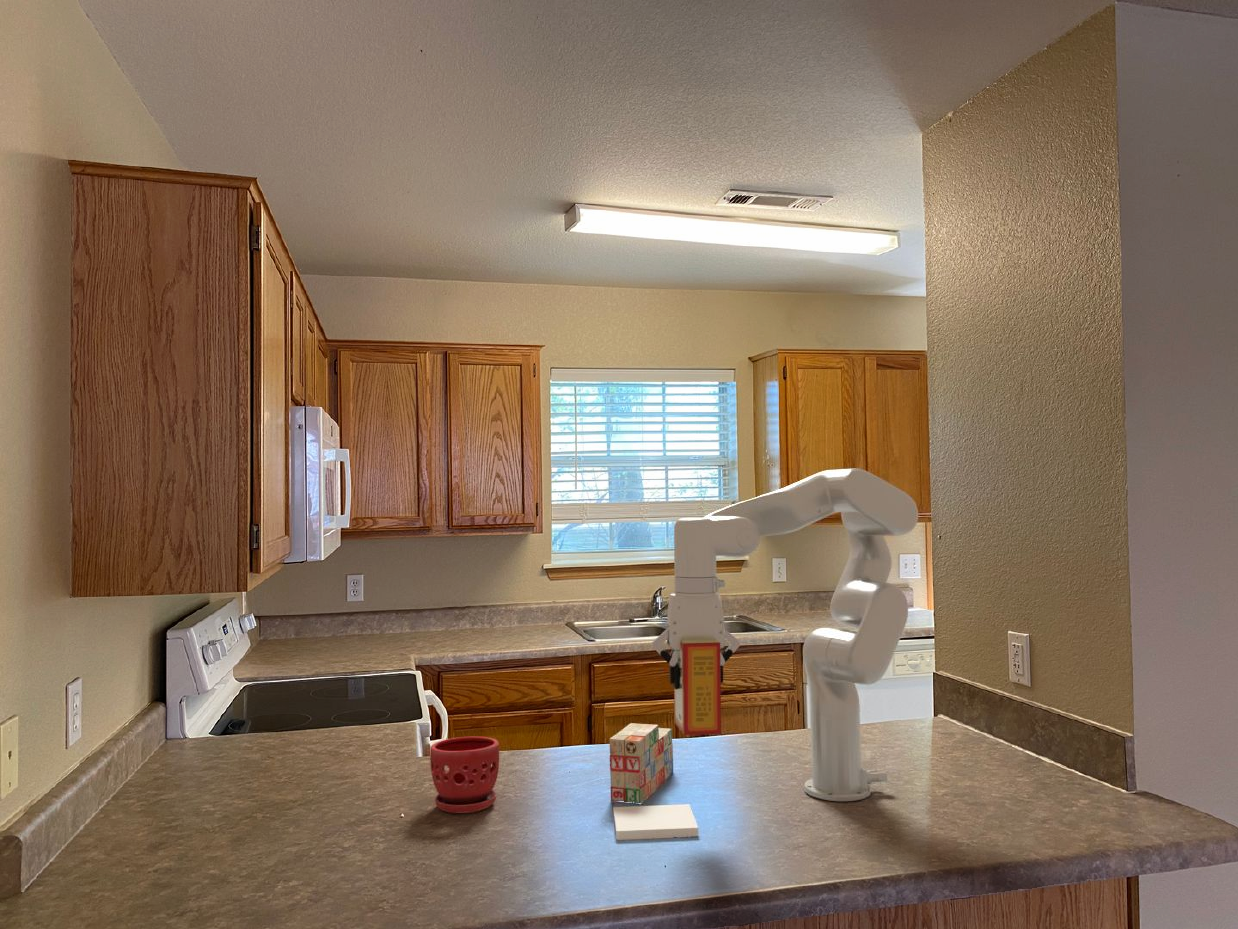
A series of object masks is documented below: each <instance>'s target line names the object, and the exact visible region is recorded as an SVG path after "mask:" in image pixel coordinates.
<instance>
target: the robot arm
mask: <svg viewBox="0 0 1238 929" xmlns="http://www.w3.org/2000/svg"><path fill="white" fill-rule="evenodd" d="M837 513H840V515H841V522H842V525H843V527H844V530H845V532H846V535H847V537H848V540H849V547H850V548H849V557H848V559H847V562H846V564H845V567H844V569H843V572H842V575H841V576H840V579H839V581H838V583H837V585H836V588H835V589H834V593H833V595H832V597H831V600H830V605H829V613H830V614H831V617H832V619H834V621H835V622H837V623H838V624H839V625H842V626H846V627H848V628H854V629H857V631H855V630H854V631H853V630H849V629H843V628H837V627H829V626H828V627H820V628H816V629H814V630H813V631H812V632H810V633H809V634H808V635H807V637H806V638H805V640H804V642H803V646H802V658H803V659H802V660H803V664H804V667H805V668H804V669H805V673H806V677H807V684H808V693H809V694H808V695H809V724H810V726H809V727H810V752H811V753H810V754H811V758H810V759H811V778H810V779H807V780H806V781H805V782H804V783H803V785H804V786H803V787H804V792H805V793H806V794H807V795H809V796H811V797H814V798H817V799H820V800H823V801H829V802H830V801H832V802H855V801H860V800H864V799H867V798H868V797H870V796H871V793H872V787H871V785H872V783H887V782H888V774H887V772H886V771H877V770H876V769H865V768H864V767H863V766H862V765H863V764H862V742H861V741H862V738H861V736H862V735H861V705H860V698H859V693H858V689H857V687H856V684H857V685H858V684H859V685H867V686H868V685H873V684H876V683H877V682H878V681H880V680H881V679H882V678H883V677H884V675H885V674H886V672H887V670H888V669H889V666H890V664H891V662H892V659H893V656H894V655H895V652H896V650H897V647H898V645H899V642H900V639H901V638H902V635H903V632H904V630H905V627H906V624H907V621H908V618H909V617H908V616H909V604H908V603H909V602H908V600H907V596H906V595H905V594H906V593H904V592H903V590H902V588H900V587H899V586H897V585H895V584H893V583H891V582H888V580H889V577H890V573H891V570H892V567H893V563H892V555H891V551H890V549H889V546H888V543H887V542H886V538H885V537H884V536H887V537H889V536H891V537H893V536H894V537H897V536H898V537H899V536H904V535H908V534H909V533H910V532H912V531H913V530H914V529H915V527H916V526H917V523H918V520H919V510H918V507H917V504H916V502H915V500H914V499H913V498H912V497H911V496H910V495H909V494H908V493H906V492H905V491H903V490H902V489H900V488H898V487H896V486H894V485H893V484H891V483H890V482H888V481H886V480H884V479H883V478H881V477H879V476H878V475H876V474H873V473H871V472H870V471H867V470H864V469H862V468H856V467H855V468H852V467H851V468H840V469H839V468H837V469H836V468H835V469H827V470H822V471H819V472H817V473H815V474H812V475H810V476H808V477H806V478H803V479H801V480H799V481H797V482H794V483H792V484H790V485H787V486H785V487H783V488H780V489H777V490H775V491H771V492H768V493H765V494H761V495H759V496H757V497H754V498H750V499H747V500H744V501H741V502H738V503H733V504H731V505H729V506H726V507H724V508H721V509H719V510H716V511H714V512H712V513H709V514H707V515H705V516H704V517H683V518H679V519H677V520H676V521H675V523H674V527H673V544H674V545H673V546H674V547H673V548H674V549H673V550H674V552H673V554H674V555H673V558H674V559H673V560H674V571H673V573H674V593H670V595H669V600H668V605H667V619H666V629H665V630H664V631H663V632H662V633H661V634H660V635H658V636H657V637H656V638H655V639H654V640H653V641H652V642H651V646H652V648H653V649H654V650H655V651H656V652H657V654H659V655H660V656H661V658H662V659H663V660H664V661H666V663H667V664H668V665H669V684H672V685H673V686H672V687H673V689H674V688H675V689H678V688H679V666H678V665H677V661H678V659H679V657H680V641H682V640H698V641H699V640H717V641H718V642H720V665H721V684H722V683H724V666H725V664H726V663H727V661H728V660H730V658H731V657H732V656H733V654H734V653H735V652H736V651H737V650H738V649H739V647H740V646H741V641H739V640H738V639H737V638H736V637H735V636H734V635H733V634H732V633H730V632H729V631H728V630H727V629H726V627H725V618H724V609H723V602H722V597H721V594H720V593H717V592H718V590H719V589H720V588H725V584H726V583H725V580H724V579H720V578H718V577H717V557H724V558H732V559H734V558H735V559H736V558H737V559H740V558H745V557H747V556H750V555H751V554H753V553H754V552H755V551H756V550H757V548H758V547H759V545H760V543H761V537H768V536H777V535H785V534H789V533H793V532H797V531H799V530H801V529H804V528H805V527H807V526H810V525H813V524H814V523H816V522H818V521H820V520H822V519H825V518H827V517H829V516H831V515H833V514H837ZM726 640H727V641H728V642H729V645H728V646H727V648H726V649H725V650H724V651H722V652H721V650H722V649H724V648H725V646H726ZM665 642H666V644H667V646H669V648H670V649H671V652H670V653H668V652H667V651H666V649H664V647H663V644H664V643H665Z"/></svg>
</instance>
